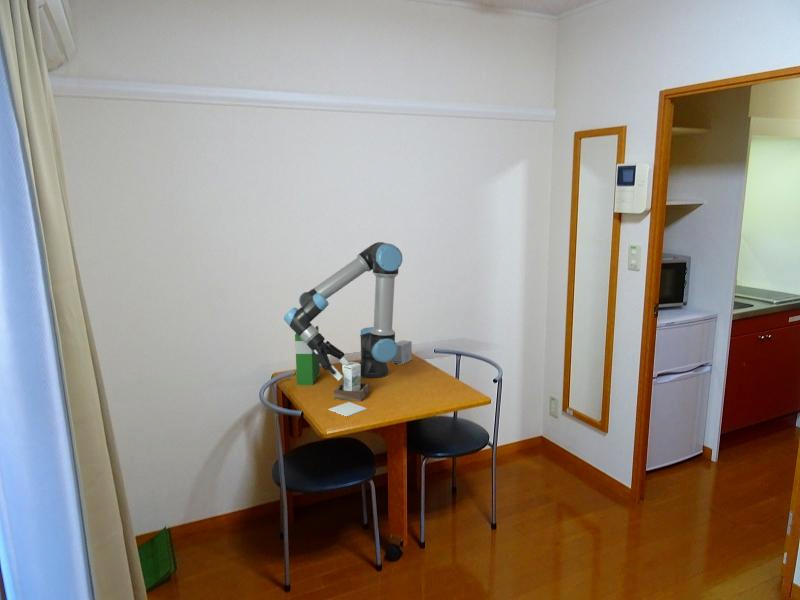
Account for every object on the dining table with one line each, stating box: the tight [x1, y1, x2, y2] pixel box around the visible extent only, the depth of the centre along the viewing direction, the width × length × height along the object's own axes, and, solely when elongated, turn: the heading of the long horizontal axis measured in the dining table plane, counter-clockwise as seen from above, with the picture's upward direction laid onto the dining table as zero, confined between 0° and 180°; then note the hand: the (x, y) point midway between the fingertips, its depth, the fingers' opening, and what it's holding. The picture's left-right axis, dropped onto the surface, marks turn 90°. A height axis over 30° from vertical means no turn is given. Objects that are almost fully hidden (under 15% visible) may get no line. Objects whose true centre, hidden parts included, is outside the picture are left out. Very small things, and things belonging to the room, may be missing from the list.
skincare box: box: [391, 340, 413, 365], centre depth 298 cm, size 10×6×10 cm, turn 147°
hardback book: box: [294, 325, 321, 386], centre depth 270 cm, size 18×7×24 cm, turn 177°
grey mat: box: [328, 401, 368, 418], centre depth 233 cm, size 11×11×1 cm
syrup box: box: [341, 361, 362, 392], centre depth 248 cm, size 6×6×14 cm
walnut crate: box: [333, 382, 370, 403], centre depth 249 cm, size 12×12×4 cm
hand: (346, 373), depth 248 cm, fingers open, 13 cm apart
